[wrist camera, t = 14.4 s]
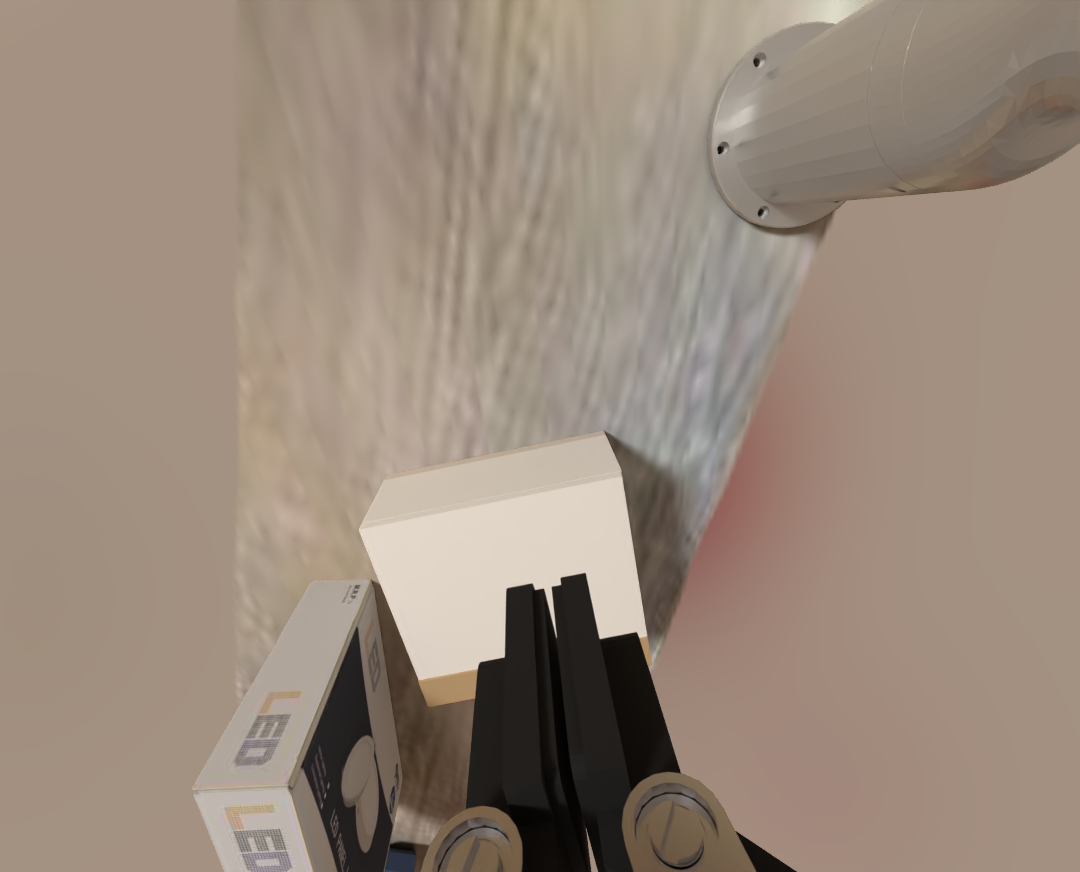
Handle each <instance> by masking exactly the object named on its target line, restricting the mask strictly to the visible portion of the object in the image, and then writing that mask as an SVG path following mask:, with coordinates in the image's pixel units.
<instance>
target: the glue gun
mask: <svg viewBox="0 0 1080 872" xmlns="http://www.w3.org/2000/svg"><path fill="white" fill-rule="evenodd" d="M415 861H416V854H415V851H413V850H405V849H398V848H390V847H389V851H388V856H387V861H386V866H385V871H384V872H414V868H415Z"/></svg>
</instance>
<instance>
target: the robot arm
mask: <svg viewBox="0 0 1080 872" xmlns="http://www.w3.org/2000/svg"><path fill="white" fill-rule="evenodd" d="M753 60H755V61H757V67H755V66H754V63H753ZM1079 143H1080V0H873V1H872V2H870V3H869V4H867V5H865V6H864V7H862V8H861V9H859V10H858V11H856V12H854V13H853V14H851V15H850V16H848V17H847V18H845V19H843V20H842V21H840V22H839V23H837V24H833V23H825V22H809V23H800V24H797V25H794V26H791V27H788V28H785V29H783V30H781V31H779V32H777V33H775V34H774V35H772V36H770V37H769V38H767V39H765V40H764V41H763V42H761V43H760V44H759V45H757V46H756V47H755V48H754V49H752V50H751V51H750V52H749V53H748V54H747V55H746V56H745V57H744V58H743V59H742V60H741V61H740V62H739V63H738V65H737V66H736V67H735V69H734V70H733V72H732V73H731V74H730V76H729V77H728V79H727V80H726V82H725V84H724V86H723V88H722V90H721V92H720V94H719V96H718V98H717V100H716V103H715V107H714V110H713V113H712V116H711V119H710V126H709V133H708V160H709V165H710V170H711V175H712V178H713V180H714V183H715V185H716V188H717V190H718V192H719V193H720V195H721V196H722V198H723V199H724V201H725V202H726V204H727V205H728V206H729V207H730V208H731V209H732V210H733V211H734V212H735V213H736V214H737V215H739V216H741V217H742V218H744V219H746V220H747V221H749V222H751V223H754V224H757V225H760V226H763V227H772V228H793V227H797V226H802V225H806V224H809V223H812V222H814V221H816V220H819V219H821V218H823V217H825V216H827V215H828V214H830V213H831V212H833V211H834V210H836V209H837V208H839V207H840V206H841V205H842V204H843V203H844V202H845V201H847V200H857V199H868V198H880V197H891V196H903V195H914V194H926V193H938V192H950V191H961V190H971V189H979V188H985V187H990V186H995V185H999V184H1002V183H1005V182H1008V181H1011V180H1014V179H1017V178H1020V177H1022V176H1024V175H1027V174H1029V173H1031V172H1033V171H1035V170H1037V169H1039V168H1041V167H1043V166H1045V165H1046V164H1048V163H1050V162H1052V161H1054V160H1055V159H1057V158H1059V157H1060V156H1062V155H1063V154H1065V153H1066V152H1068V151H1069V150H1071V149H1072V148H1073V147H1075V146H1076V145H1077V144H1079ZM718 147H721V149H722V152H721V154H718V151H717V148H718ZM759 209H760V210H761V214H760V216H758V210H759ZM560 580H561V585H558V586H553V587H552V597H553V606H554V616H555V625H556V634H555V630H554V626H553V622H552V618H551V614H550V610H549V606H548V602H547V598H546V594H545V590H544V588H543V589H538V590H535V588H534V585H533V584H532V583H531V584H526V585H521V586H516V587H510V588H507V589H506V621H505V657H504V658H499V659H493V660H488V661H483V662H480V663H479V665H478V671H477V681H476V693H475V705H474V717H473V729H472V742H471V754H470V766H469V778H468V790H467V803H466V810H464V811H462V812H461V813H459V814H457V815H455V816H453V817H452V818H451V819H450V820H449V821H448V822H447V823H446V824H445V825H444V826H443V827H441V829H440V830H439V832H438V833H437V835H436V836H435V837H434V839H433V840H432V842H431V843H430V846H429V848H428V851H427V854H426V856H425V859H424V861H423V865H422V869H421V872H591V866H590V857H589V849H588V841H587V833H588V836H589V840H590V843H591V847H592V851H593V854H594V858H595V862H596V866H597V869H598V872H796V871H795V870H793V869H792V868H790V867H789V866H787V865H786V864H784V863H783V862H781V861H780V860H778V859H777V858H775V857H774V856H772V855H771V854H769V853H768V852H766V851H765V850H763V849H762V848H760V847H759V846H757V845H756V844H754V843H753V842H751V841H750V840H748V839H747V838H745V837H744V836H742V835H741V834H739V833H738V832H736V831H735V829H734V828H733V826H732V824H731V822H730V820H729V818H728V816H727V814H726V812H725V810H724V808H723V807H722V805H721V804H720V802H719V801H718V799H717V798H716V797H715V795H714V794H713V792H711V791H710V790H709V789H708V788H707V787H706V786H704V785H703V784H702V783H701V782H700V781H698V780H696V779H694V778H692V777H689V776H687V775H685V774H681V773H680V769H679V766H678V762H677V759H676V756H675V753H674V749H673V746H672V743H671V740H670V736H669V733H668V730H667V726H666V723H665V720H664V717H663V713H662V710H661V707H660V704H659V700H658V697H657V694H656V691H655V687H654V684H653V681H652V678H651V674H650V671H649V668H648V665H647V661H646V658H645V655H644V652H643V648H642V645H641V642H640V639H639V636H638V633H637V632H634V633H629V634H623V635H618V636H613V637H608V638H603V639H600V638H599V634H598V629H597V624H596V619H595V615H594V610H593V605H592V600H591V596H590V591H589V586H588V581H587V577H586V573H582V574H576V575H571V576H566V577H561V578H560ZM556 635H557V638H556ZM586 829H587V832H586Z"/></svg>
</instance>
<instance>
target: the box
mask: <svg viewBox="0 0 1080 872" xmlns="http://www.w3.org/2000/svg"><path fill="white" fill-rule="evenodd" d="M615 472H620V473H621V475H622V471H621V468H620V466H619V464H618V461H617V459H616V457H615V455H614V453H613V450H612V448H611V446H610V444H609V441H608V439H607V437H606V435H605V432H604V430H603V431H598V432H594V433H589V434H584V435H579V436H574V437H569V438H564V439H560V440H555V441H550V442H545V443H540V444H535V445H530V446H526V447H521V448H516V449H511V450H506V451H501V452H497V453H492V454H487V455H482V456H477V457H472V458H467V459H463V460H458V461H453V462H448V463H443V464H438V465H433V466H429V467H424V468H419V469H414V470H409V471H404V472H399V473H395V474H390V475H386V477H385V479H384V481H383V483H382V485H381V487H380V489H379V491H378V493H377V495H376V497H375V499H374V501H373V503H372V505H371V506H370V508H369V510H368V512H367V514H366V516H365V518H364V520H363V522H362V524H364V523H369V522H374V521H379V520H384V519H388V518H393V517H398V516H403V515H408V514H413V513H418V512H423V511H428V510H433V509H438V508H443V507H448V506H452V505H457V504H462V503H467V502H472V501H477V500H482V499H487V498H492V497H497V496H502V495H507V494H511V493H516V492H521V491H526V490H531V489H536V488H541V487H546V486H551V485H556V484H561V483H566V482H571V481H575V480H580V479H585V478H590V477H595V476H600V475H605V474H610V473H615ZM622 480H623V477H622ZM623 486H624V483H623ZM624 493H625V490H624ZM625 499H626V496H625ZM626 505H627V503H626ZM627 512H628V509H627ZM628 518H629V515H628ZM629 524H630V522H629ZM630 531H631V528H630ZM631 537H632V535H631ZM632 543H633V541H632ZM633 550H634V548H633ZM634 556H635V554H634ZM635 562H636V560H635ZM636 569H637V567H636ZM637 575H638V573H637ZM638 581H639V580H638ZM639 588H640V586H639ZM640 594H641V593H640ZM641 600H642V599H641ZM642 607H643V605H642ZM643 613H644V612H643ZM644 619H645V618H644ZM646 632H647V631H646Z"/></svg>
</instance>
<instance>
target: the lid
mask: <svg viewBox="0 0 1080 872" xmlns="http://www.w3.org/2000/svg"><path fill="white" fill-rule="evenodd" d="M359 532H360V534H361V537H362V539H363V542H364V544H365V547H366V549H367V552H368V554H369V557H370V559H371V562H372V564H373V567H374V569H375V572H376V574H377V577H378V579H379V582H380V584H381V587H382V589H383V592H384V594H385V597H386V599H387V602H388V605H389V607H390V610H391V612H392V615H393V617H394V620H395V622H396V625H397V627H398V630H399V632H400V635H401V637H402V640H403V642H404V645H405V647H406V650H407V652H408V655H409V657H410V660H411V662H412V665H413V667H414V670H415V672H416V675H417V677H418V680H419V681H418V683H419V685H420V688H421V690H422V693H423V695H424V698H425V700H426V703H427V705H428V707H433V706H438V705H443V704H449V703H454V702H459V701H464V700H470V699H475V693H476V681H477V671H478V665H479V663H480V662H483V661H488V660H493V659H499V658H504V657H505V621H506V589H507V588H510V587H516V586H521V585H526V584H531V583H532V584H533V585H534V588H535V590H538V589H543V588H544V590H545V594H546V598H547V602H548V606H549V610H550V614H551V618H552V622H553V626H554V630H555V634H556V625H555V616H554V606H553V597H552V587H553V586H558V585H561V580H560V578H561V577H566V576H571V575H576V574H582V573H586V577H587V581H588V586H589V591H590V596H591V600H592V605H593V610H594V615H595V619H596V624H597V629H598V634H599V638H600V639H603V638H608V637H613V636H618V635H623V634H629V633H634V632H637V633H638V636H639V639H640V642H641V645H642V648H643V652H644V655H645V658H646V661H647V665H652V662H651V655H650V649H649V643H648V637H647V632H646V625H645V619H644V613H643V607H642V600H641V594H640V588H639V581H638V575H637V569H636V562H635V556H634V550H633V543H632V537H631V531H630V524H629V518H628V512H627V505H626V499H625V493H624V486H623V480H622V475H621V473H620V472H615V473H610V474H605V475H600V476H595V477H590V478H585V479H580V480H575V481H571V482H566V483H561V484H556V485H551V486H546V487H541V488H536V489H531V490H526V491H521V492H516V493H511V494H507V495H502V496H497V497H492V498H487V499H482V500H477V501H472V502H467V503H462V504H457V505H452V506H448V507H443V508H438V509H433V510H428V511H423V512H418V513H413V514H408V515H403V516H398V517H393V518H388V519H384V520H379V521H374V522H369V523H364V524H361V526H360V528H359ZM556 638H557V635H556Z"/></svg>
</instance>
